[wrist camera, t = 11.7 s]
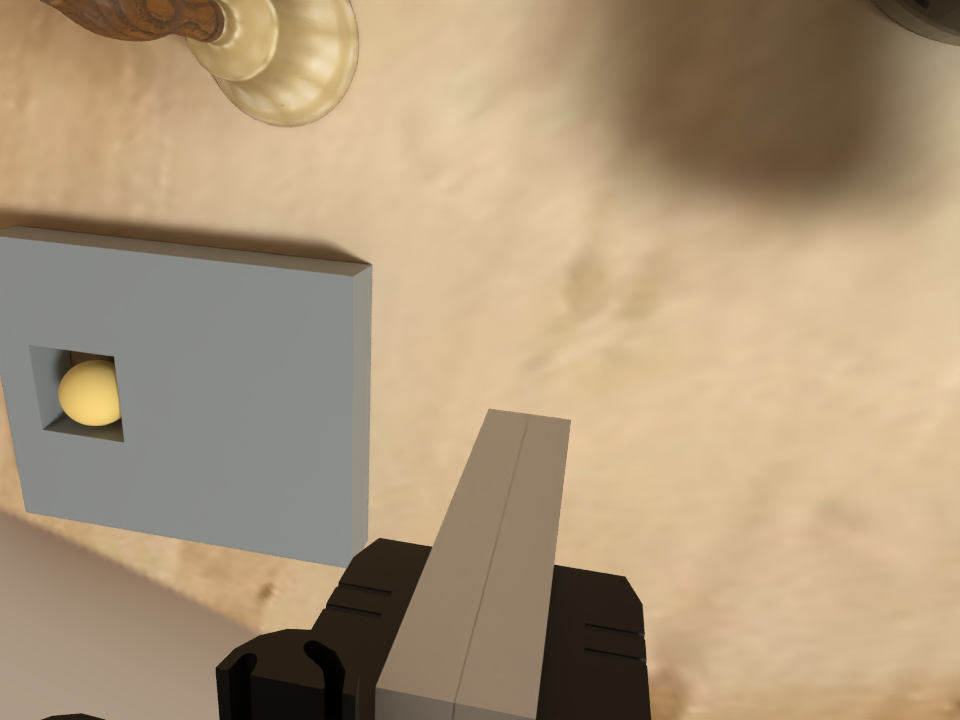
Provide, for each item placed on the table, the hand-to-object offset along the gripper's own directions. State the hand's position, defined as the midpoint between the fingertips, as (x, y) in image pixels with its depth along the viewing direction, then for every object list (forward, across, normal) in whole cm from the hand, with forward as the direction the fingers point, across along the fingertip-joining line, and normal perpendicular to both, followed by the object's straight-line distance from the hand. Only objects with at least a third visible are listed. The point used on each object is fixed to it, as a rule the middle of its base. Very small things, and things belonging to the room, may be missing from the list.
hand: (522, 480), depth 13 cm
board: (+24, -22, -11) cm, 35 cm away
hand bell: (+25, -16, +9) cm, 31 cm away
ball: (+24, -26, -11) cm, 37 cm away
